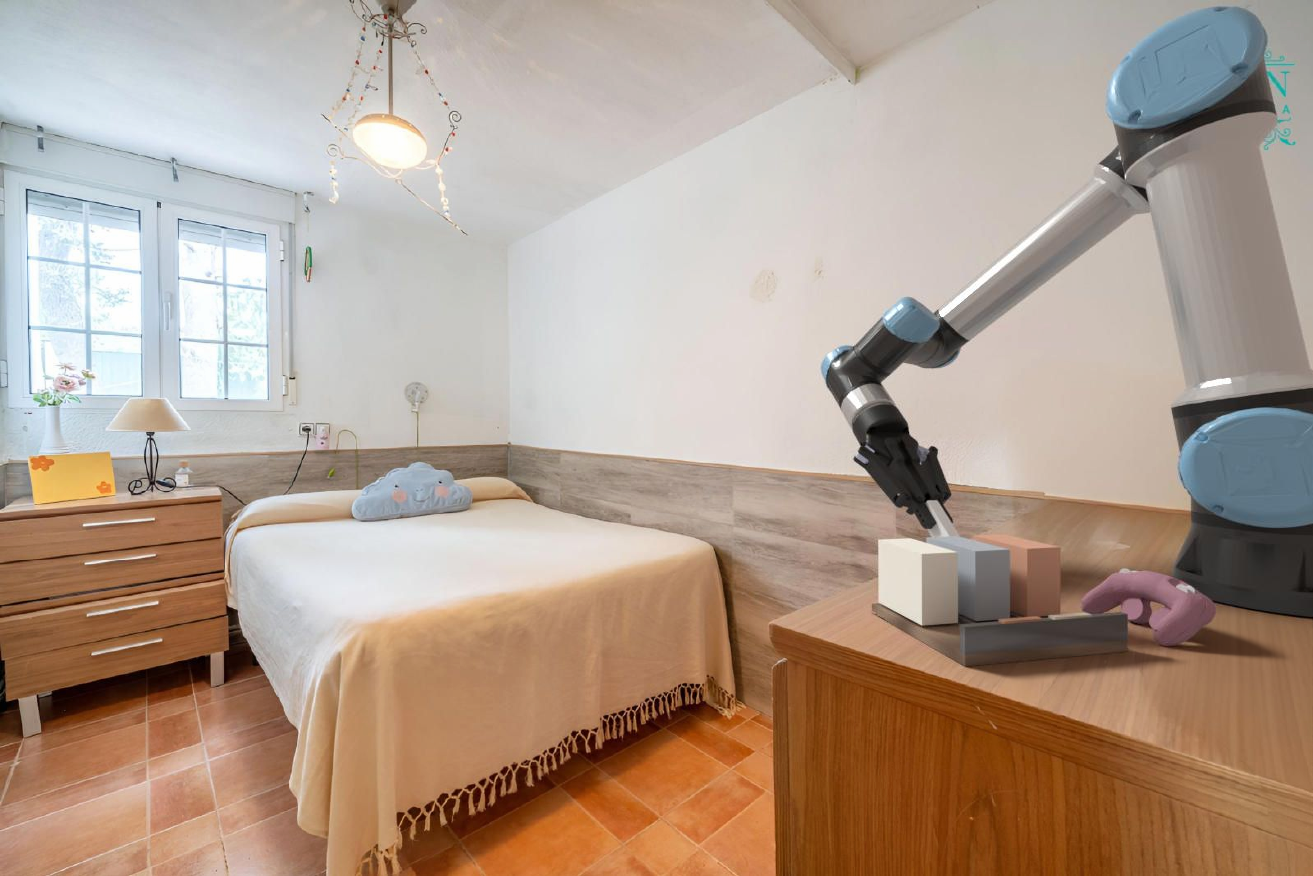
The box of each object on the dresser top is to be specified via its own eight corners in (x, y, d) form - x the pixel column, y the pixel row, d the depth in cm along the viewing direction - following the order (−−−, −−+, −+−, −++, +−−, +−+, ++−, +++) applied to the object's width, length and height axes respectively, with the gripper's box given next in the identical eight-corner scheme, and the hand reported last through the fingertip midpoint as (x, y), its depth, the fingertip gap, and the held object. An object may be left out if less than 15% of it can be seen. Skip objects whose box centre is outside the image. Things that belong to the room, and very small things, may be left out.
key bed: (871, 612, 57) (871, 580, 57) (1002, 603, 60) (1002, 573, 60) (965, 666, 43) (964, 624, 43) (1127, 651, 46) (1127, 612, 46)
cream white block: (878, 602, 56) (878, 539, 56) (910, 600, 57) (910, 538, 57) (921, 625, 49) (921, 554, 49) (957, 622, 50) (957, 552, 50)
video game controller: (1202, 665, 47) (1237, 598, 47) (1158, 643, 47) (1192, 576, 47) (1108, 626, 57) (1136, 570, 57) (1072, 607, 57) (1100, 552, 57)
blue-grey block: (926, 599, 57) (926, 537, 57) (957, 597, 58) (957, 536, 58) (975, 621, 50) (975, 551, 50) (1010, 618, 51) (1009, 549, 51)
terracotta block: (973, 596, 58) (972, 535, 58) (1002, 594, 59) (1002, 534, 59) (1027, 617, 51) (1027, 548, 51) (1060, 614, 52) (1060, 547, 52)
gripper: (900, 436, 84) (980, 561, 68) (827, 436, 82) (892, 565, 65) (922, 402, 79) (1015, 529, 62) (845, 401, 76) (921, 532, 60)
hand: (952, 547), depth 64 cm, fingers closed
